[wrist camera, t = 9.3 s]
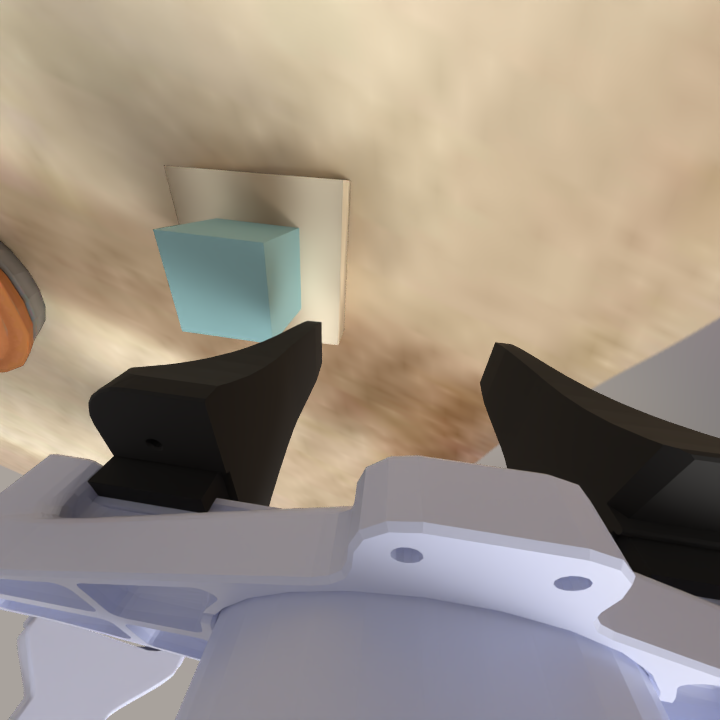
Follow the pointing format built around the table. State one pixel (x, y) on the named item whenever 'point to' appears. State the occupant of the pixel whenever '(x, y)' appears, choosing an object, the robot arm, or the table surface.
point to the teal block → (232, 276)
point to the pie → (17, 311)
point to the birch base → (283, 208)
